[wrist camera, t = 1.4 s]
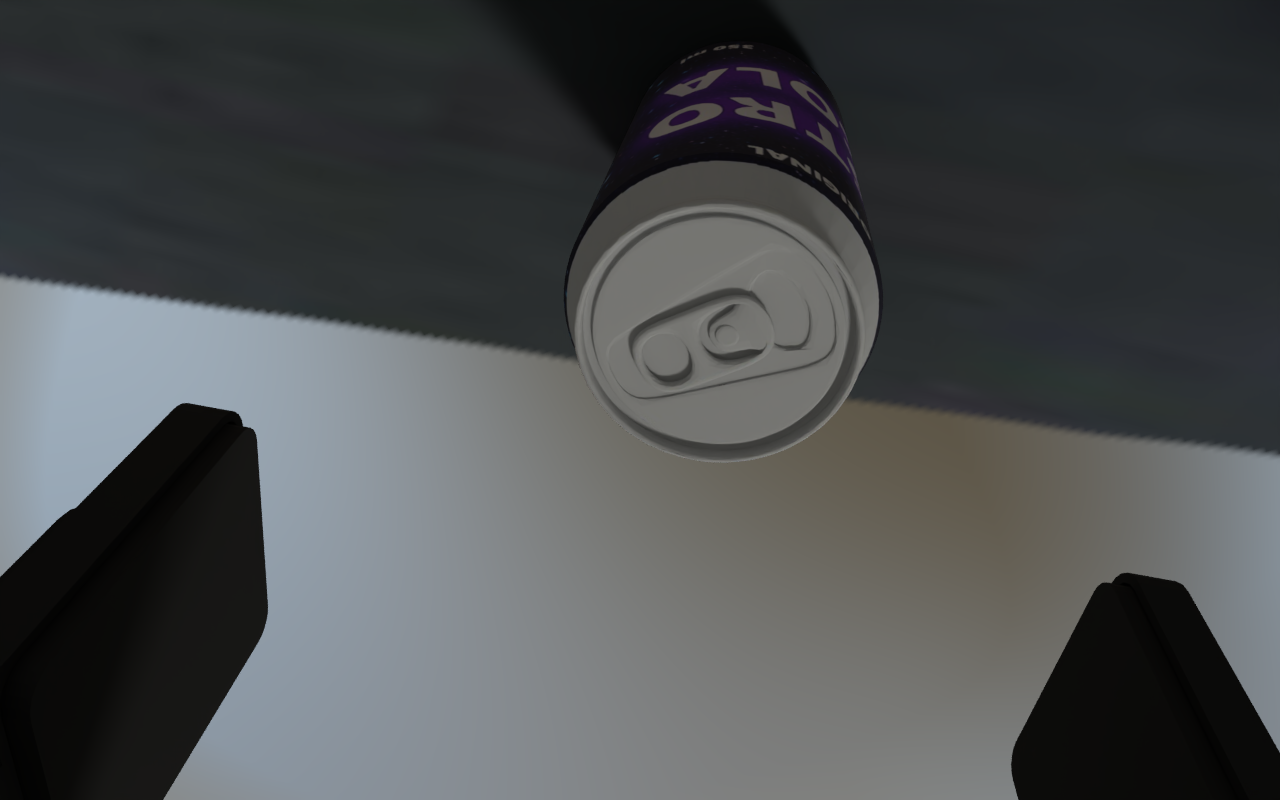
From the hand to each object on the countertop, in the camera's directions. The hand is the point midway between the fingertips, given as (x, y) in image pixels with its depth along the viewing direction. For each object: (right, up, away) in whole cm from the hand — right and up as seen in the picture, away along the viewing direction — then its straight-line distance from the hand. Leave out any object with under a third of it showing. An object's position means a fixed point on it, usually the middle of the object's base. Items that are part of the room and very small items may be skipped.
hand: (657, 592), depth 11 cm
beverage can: (+2, +9, +16) cm, 19 cm away
